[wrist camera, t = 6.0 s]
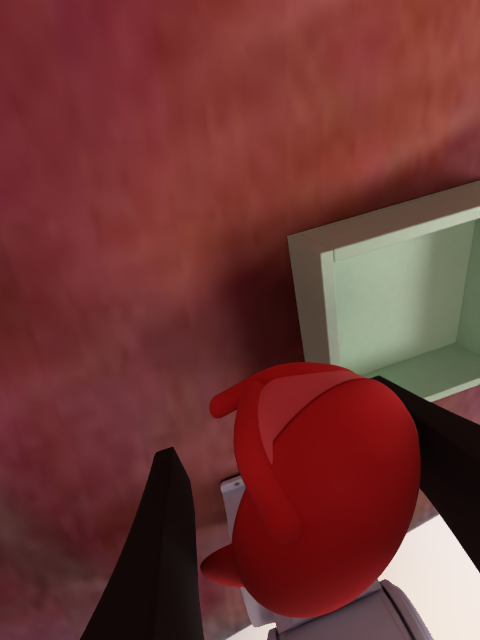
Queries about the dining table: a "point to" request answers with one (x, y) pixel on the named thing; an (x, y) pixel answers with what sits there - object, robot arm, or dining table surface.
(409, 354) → the bin
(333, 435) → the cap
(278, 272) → the dining table surface
